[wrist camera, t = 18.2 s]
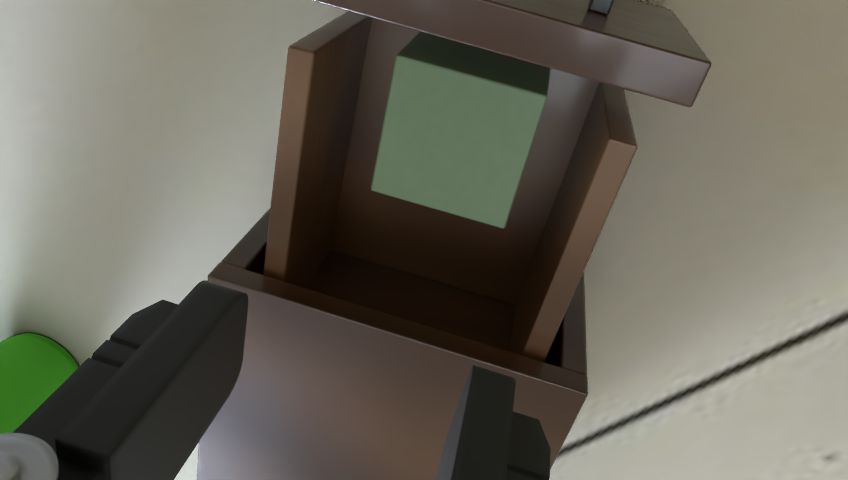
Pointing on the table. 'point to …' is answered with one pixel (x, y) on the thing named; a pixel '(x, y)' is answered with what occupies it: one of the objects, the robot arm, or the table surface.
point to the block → (459, 128)
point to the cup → (29, 376)
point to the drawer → (444, 232)
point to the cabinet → (363, 384)
